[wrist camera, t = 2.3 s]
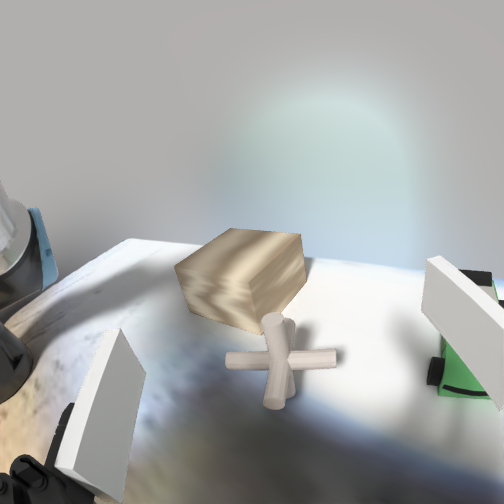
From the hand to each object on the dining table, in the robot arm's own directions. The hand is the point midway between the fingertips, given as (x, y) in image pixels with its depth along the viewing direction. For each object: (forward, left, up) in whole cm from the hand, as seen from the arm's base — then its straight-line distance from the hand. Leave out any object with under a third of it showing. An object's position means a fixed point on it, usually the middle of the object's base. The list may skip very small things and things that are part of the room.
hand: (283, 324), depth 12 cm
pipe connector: (-7, +8, -18) cm, 20 cm away
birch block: (-21, +21, -18) cm, 34 cm away
